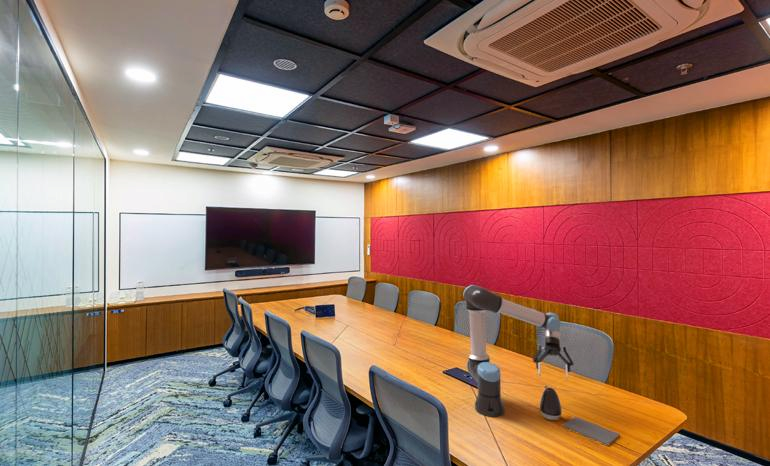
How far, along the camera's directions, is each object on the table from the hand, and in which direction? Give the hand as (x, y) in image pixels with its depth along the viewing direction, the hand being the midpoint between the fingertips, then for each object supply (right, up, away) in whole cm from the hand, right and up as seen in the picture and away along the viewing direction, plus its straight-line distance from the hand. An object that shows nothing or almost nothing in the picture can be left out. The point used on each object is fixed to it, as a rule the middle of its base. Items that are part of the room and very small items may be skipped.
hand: (553, 376), depth 189 cm
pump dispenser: (-5, -18, -9) cm, 21 cm away
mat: (+7, -17, -22) cm, 29 cm away
